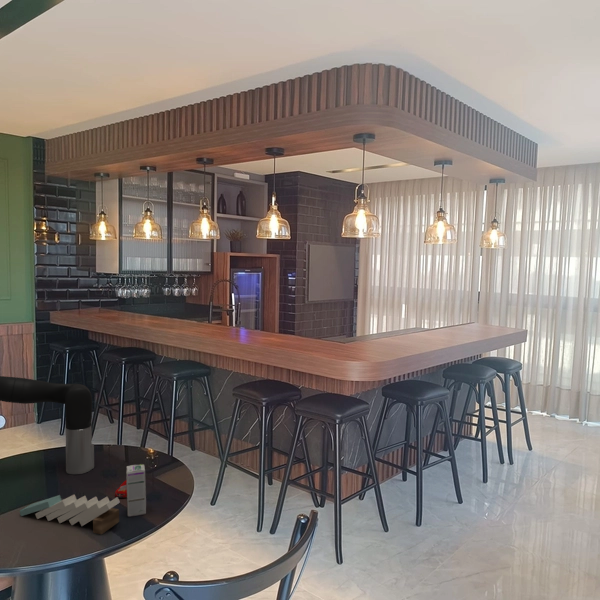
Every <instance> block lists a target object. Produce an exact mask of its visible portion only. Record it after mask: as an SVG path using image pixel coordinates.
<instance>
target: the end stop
mask: <svg viewBox="0 0 600 600" xmlns="http://www.w3.org/2000/svg"><path fill="white" fill-rule="evenodd" d="M118 523H120V509H119V508H115V507H112V508H111V509H109V510H108V511H106V512H104V513H103V514H101V515H99V516H98V517H96V518H95V519H93V520H92V529H93V530H92V531H93V532H92V533H93V534H98V535H103V534H105V533H106V532H107V531H108V530H110V529H111V528H113V527H114V526H116V525H117V524H118Z"/></svg>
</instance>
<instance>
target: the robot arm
mask: <svg viewBox="0 0 600 600" xmlns="http://www.w3.org/2000/svg"><path fill="white" fill-rule="evenodd" d="M0 402H5V403H11V404H12V403H15V404H21V405H22V404H28V405H29V404H39V403H58V404H61V405H65V472H66V474H69V475H82V474H86V473H87V472H90V471H91V470H92V469H95V445H94V444H93V443H92V442H93V441H92V438H93V437H92V434H93V433H92V419H93V397H92V393H91V391H90V389H89V388H88V387H87V386H86V385H84V384H80V383H57V382H56V383H55V382H48V381H44V380H37V379H32V378H31V379H30V378H25V377H18V376H17V377H16V376H4V375H3V376H2V375H0Z"/></svg>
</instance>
